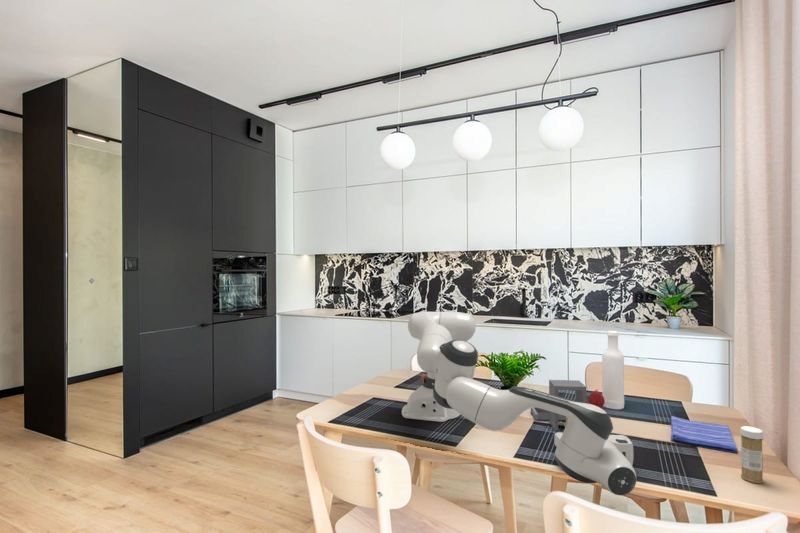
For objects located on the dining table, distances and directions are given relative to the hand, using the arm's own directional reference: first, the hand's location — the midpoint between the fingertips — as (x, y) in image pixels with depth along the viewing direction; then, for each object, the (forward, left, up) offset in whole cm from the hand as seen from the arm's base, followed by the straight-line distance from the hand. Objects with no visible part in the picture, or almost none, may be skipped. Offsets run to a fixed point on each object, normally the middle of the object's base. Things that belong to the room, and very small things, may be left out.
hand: (584, 433), depth 130 cm
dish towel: (+42, +16, -6) cm, 46 cm away
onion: (+16, +38, -5) cm, 42 cm away
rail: (0, +8, -5) cm, 10 cm away
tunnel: (0, +19, -5) cm, 20 cm away
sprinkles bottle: (+38, -14, -5) cm, 41 cm away
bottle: (+24, +43, -5) cm, 50 cm away
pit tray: (0, +28, -5) cm, 29 cm away
